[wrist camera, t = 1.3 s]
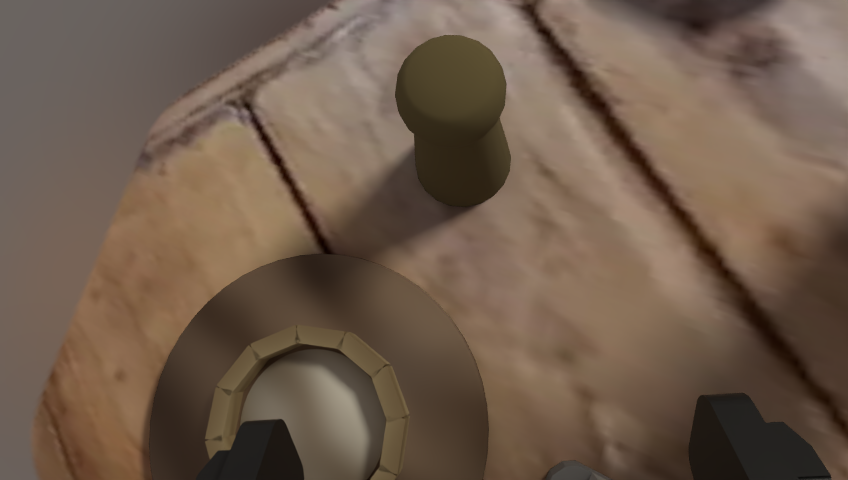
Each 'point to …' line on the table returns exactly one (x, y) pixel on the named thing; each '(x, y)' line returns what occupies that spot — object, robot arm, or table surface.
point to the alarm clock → (574, 472)
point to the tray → (325, 376)
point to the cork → (455, 118)
